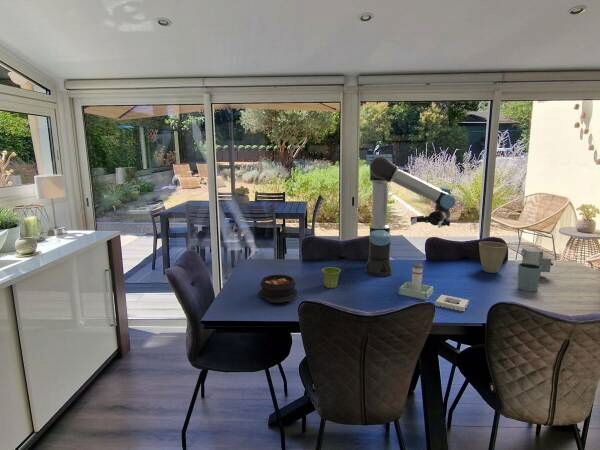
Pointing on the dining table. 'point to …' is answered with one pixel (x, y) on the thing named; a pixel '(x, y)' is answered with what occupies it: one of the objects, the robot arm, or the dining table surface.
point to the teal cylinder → (528, 276)
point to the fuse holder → (461, 306)
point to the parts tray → (407, 291)
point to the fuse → (417, 276)
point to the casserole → (278, 288)
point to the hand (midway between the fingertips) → (425, 223)
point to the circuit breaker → (536, 258)
